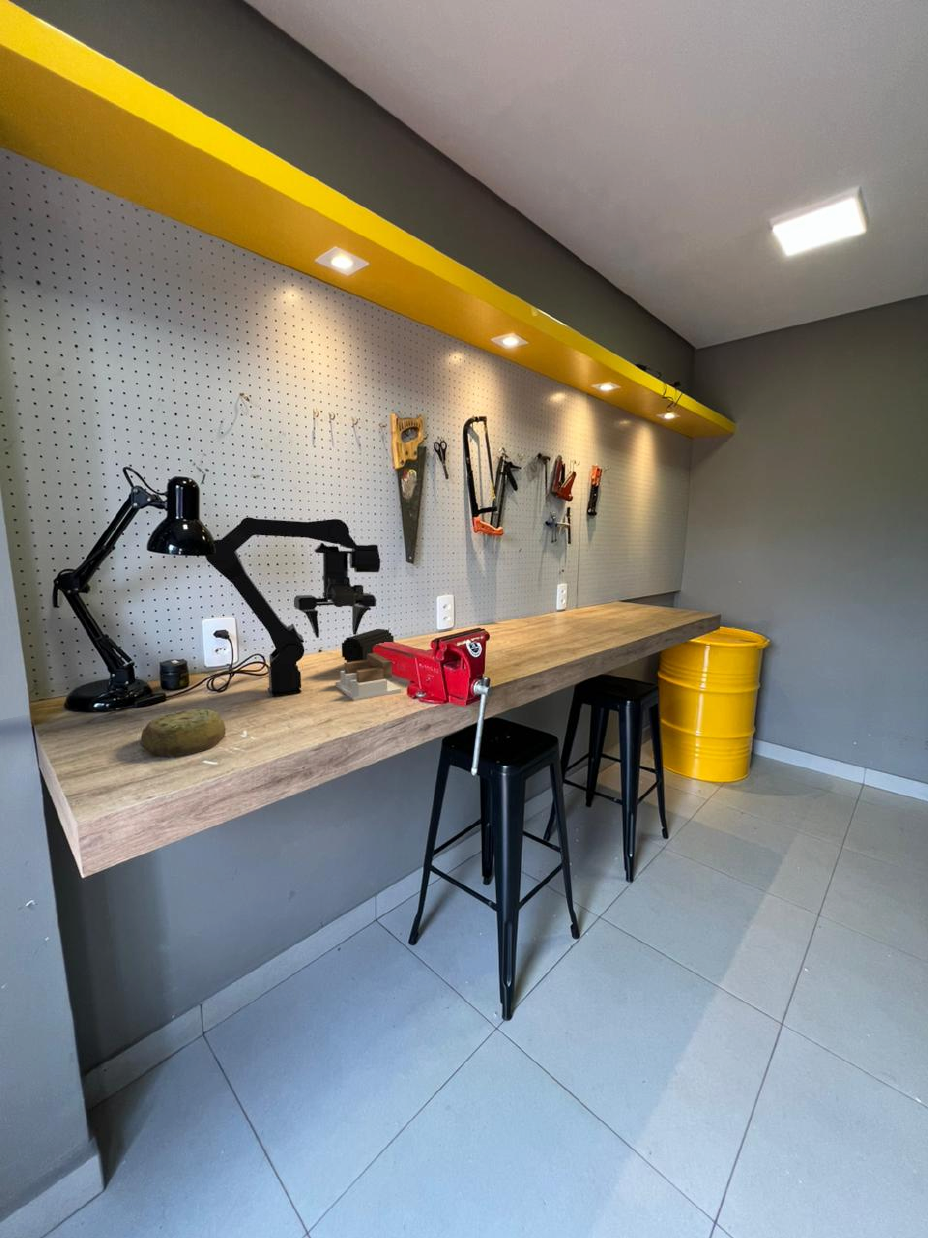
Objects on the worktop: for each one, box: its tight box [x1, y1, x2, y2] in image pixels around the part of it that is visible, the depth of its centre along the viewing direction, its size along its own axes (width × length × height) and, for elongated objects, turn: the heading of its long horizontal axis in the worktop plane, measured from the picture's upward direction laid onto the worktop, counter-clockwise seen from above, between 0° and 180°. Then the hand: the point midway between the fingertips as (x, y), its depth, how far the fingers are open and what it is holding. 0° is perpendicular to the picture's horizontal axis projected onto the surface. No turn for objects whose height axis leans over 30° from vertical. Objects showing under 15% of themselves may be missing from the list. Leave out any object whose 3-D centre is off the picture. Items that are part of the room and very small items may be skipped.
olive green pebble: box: [140, 708, 226, 757], centre depth 90 cm, size 14×13×5 cm
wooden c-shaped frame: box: [334, 670, 402, 701], centre depth 121 cm, size 12×13×4 cm
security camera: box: [341, 628, 395, 662], centre depth 139 cm, size 7×18×10 cm, turn 155°
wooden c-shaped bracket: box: [344, 653, 393, 683], centre depth 120 cm, size 8×10×4 cm
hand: (336, 636), depth 121 cm, fingers open, 9 cm apart
